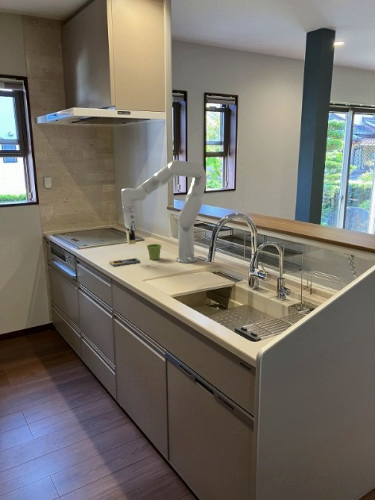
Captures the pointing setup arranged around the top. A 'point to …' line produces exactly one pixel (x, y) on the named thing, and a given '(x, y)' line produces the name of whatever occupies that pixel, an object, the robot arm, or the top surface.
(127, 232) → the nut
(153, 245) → the plant pot
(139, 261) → the rail
